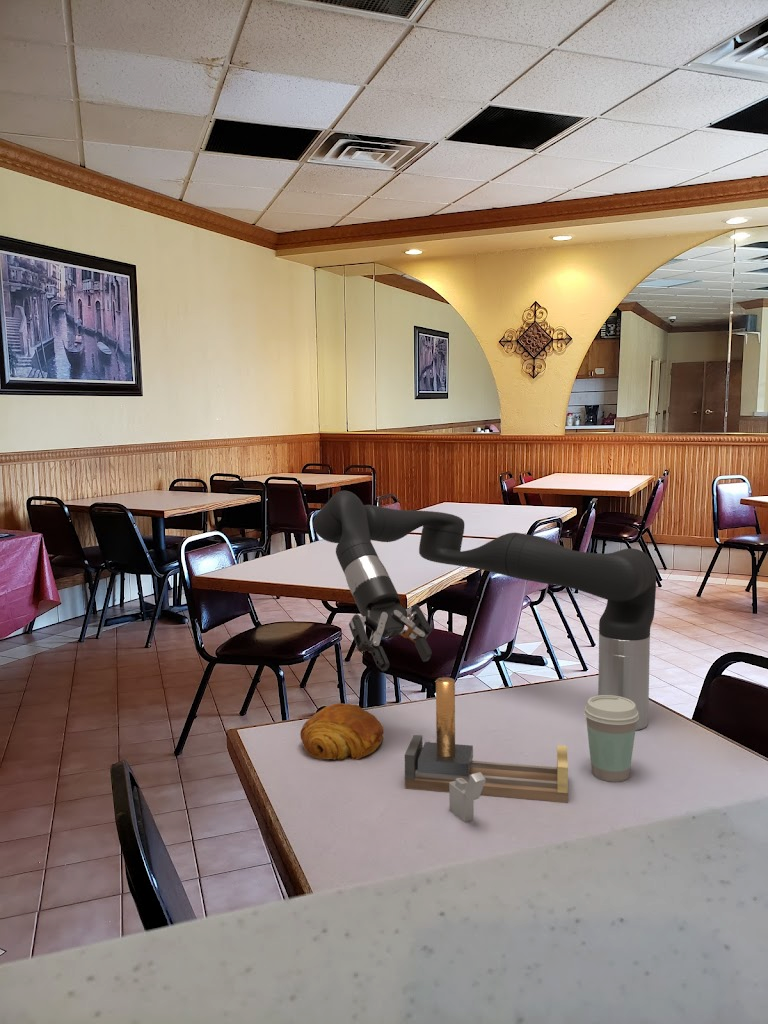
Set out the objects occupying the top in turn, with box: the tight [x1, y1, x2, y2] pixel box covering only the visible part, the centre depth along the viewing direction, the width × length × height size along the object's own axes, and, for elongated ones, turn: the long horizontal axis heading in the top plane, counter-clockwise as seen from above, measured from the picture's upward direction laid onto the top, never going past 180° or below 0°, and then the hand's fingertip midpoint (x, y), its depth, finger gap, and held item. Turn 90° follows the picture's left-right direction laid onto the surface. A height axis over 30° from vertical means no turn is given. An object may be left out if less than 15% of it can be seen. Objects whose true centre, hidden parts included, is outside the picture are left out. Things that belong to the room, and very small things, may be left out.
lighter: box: [448, 772, 486, 823], centre depth 108 cm, size 7×2×8 cm, turn 27°
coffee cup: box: [583, 695, 639, 783], centre depth 122 cm, size 8×8×12 cm
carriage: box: [418, 676, 474, 776], centre depth 120 cm, size 7×8×14 cm
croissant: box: [300, 702, 385, 761], centre depth 135 cm, size 14×16×8 cm
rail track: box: [404, 734, 569, 804], centre depth 119 cm, size 8×25×6 cm, turn 78°
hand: (407, 664), depth 128 cm, fingers open, 8 cm apart
